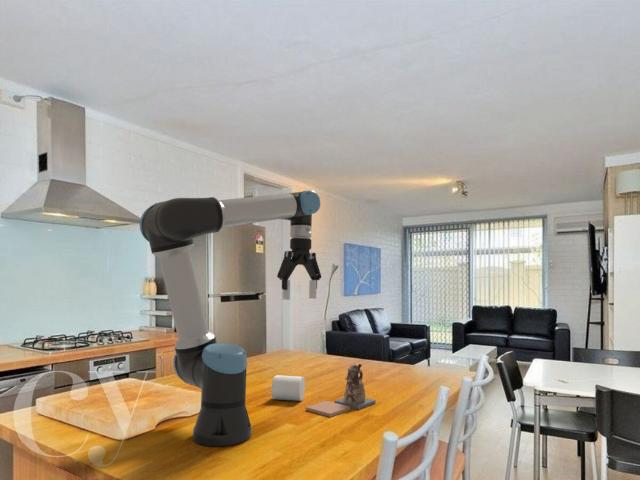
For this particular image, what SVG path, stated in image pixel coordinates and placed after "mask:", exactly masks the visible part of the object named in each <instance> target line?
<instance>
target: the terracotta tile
mask: <svg viewBox="0 0 640 480" xmlns="http://www.w3.org/2000/svg"><path fill="white" fill-rule="evenodd" d="M305 410H306V411H307V412H311V413H314V414H318V415H321V416H324V417H329V418H331V417H334V416H338V415H340V414H342V413H345V412H348V411H350V410H351V408H350V407H349V406H345V405H341V404H337V403H334V401H333V402H332V401H328V400H324V401H320V402H318V403H315V404H312V405H308V406H306V407H305Z"/></svg>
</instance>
